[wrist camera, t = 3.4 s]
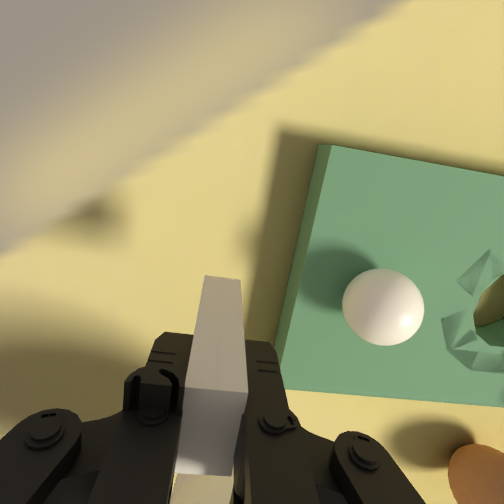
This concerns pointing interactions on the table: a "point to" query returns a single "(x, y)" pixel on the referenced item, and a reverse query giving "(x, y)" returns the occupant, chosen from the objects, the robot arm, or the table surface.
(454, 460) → the egg
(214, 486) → the cup
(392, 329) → the ball
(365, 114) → the table surface
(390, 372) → the green
